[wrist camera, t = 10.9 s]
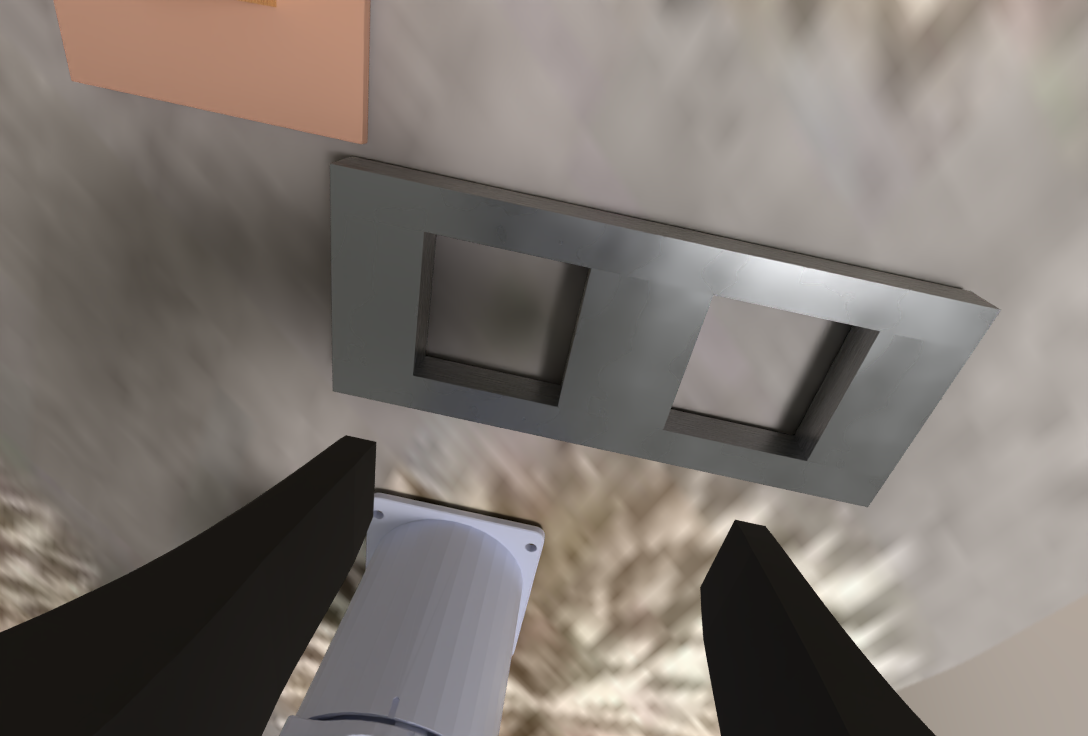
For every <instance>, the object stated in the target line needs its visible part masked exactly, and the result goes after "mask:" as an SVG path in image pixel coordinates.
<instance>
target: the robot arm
mask: <svg viewBox="0 0 1088 736" xmlns="http://www.w3.org/2000/svg"><path fill="white" fill-rule="evenodd" d="M375 462H376V442H374V441H370V440H365V439H360V438H356V437H351V436H347V435H346V436H344V437H342V438H341V439H339V440H338V441H337V442H335V443H334V444H332V445H331V446H330V447H328V448H327V449H326V450H324V451H323V452H321V453H320V454H319V455H317V456H316V457H315V458H313V459H312V460H310V461H309V462H308V463H306V464H305V465H304V466H302V467H301V468H299V469H298V470H297V471H295V472H294V473H292V474H291V475H290V476H288V477H287V478H285V479H284V480H282V481H281V482H280V483H278V484H277V485H275V486H274V487H272V488H271V489H269V490H268V491H266V492H265V493H263V494H262V495H260V496H259V497H258V498H256V499H255V500H253V501H252V502H250V503H249V504H247V505H246V506H244V507H243V508H241V509H239V510H238V511H236V512H235V513H233V514H231V515H230V516H228V517H227V518H225V519H223V520H222V521H220V522H219V523H217V524H215V525H214V526H212V527H210V528H209V529H207V530H206V531H204V532H202V533H201V534H199V535H197V536H196V537H194V538H192V539H191V540H189V541H187V542H185V543H184V544H182V545H180V546H179V547H177V548H175V549H173V550H171V551H170V552H168V553H166V554H164V555H162V556H161V557H159V558H157V559H155V560H153V561H151V562H149V563H148V564H146V565H144V566H142V567H140V568H138V569H136V570H134V571H133V572H131V573H129V574H127V575H125V576H123V577H121V578H119V579H117V580H115V581H112V582H110V583H108V584H106V585H104V586H102V587H100V588H98V589H96V590H94V591H91V592H89V593H87V594H85V595H83V596H81V597H79V598H77V599H74V600H72V601H70V602H68V603H66V604H64V605H62V606H60V607H57V608H55V609H53V610H51V611H49V612H47V613H45V614H42V615H40V616H38V617H35V618H33V619H31V620H29V621H26V622H24V623H21V624H19V625H17V626H14V627H12V628H10V629H7V630H5V631H3V632H0V736H262V734H263V732H264V729H265V727H266V725H267V723H268V721H269V719H270V716H271V714H272V712H273V710H274V708H275V705H276V703H277V701H278V699H279V697H280V695H281V693H282V691H283V689H284V687H285V685H286V683H287V682H288V680H289V678H290V676H291V674H292V672H293V670H294V668H295V667H296V665H297V663H298V661H299V660H300V658H301V656H302V654H303V653H304V651H305V649H306V647H307V645H308V644H309V642H310V640H311V638H312V637H313V635H314V633H315V631H316V630H317V628H318V626H319V624H320V623H321V621H322V619H323V617H324V616H325V614H326V612H327V610H328V608H329V607H330V605H331V603H332V601H333V600H334V598H335V596H336V594H337V593H338V591H339V589H340V587H341V585H342V584H343V582H344V580H345V578H346V576H347V575H348V573H349V571H350V569H351V567H352V566H353V564H354V561H355V559H356V557H357V554H358V552H359V550H360V548H361V545H362V543H363V541H364V538H365V536H366V533H367V543H366V571H365V573H364V575H363V577H362V579H361V581H360V583H359V585H358V587H357V589H356V591H355V593H354V596H353V598H352V600H351V602H350V604H349V606H348V608H347V610H346V612H345V614H344V616H343V618H342V620H341V623H340V625H339V627H338V629H337V631H336V633H335V635H334V637H333V639H332V641H331V643H330V645H329V647H328V650H327V652H326V654H325V656H324V658H323V660H322V662H321V664H320V666H319V668H318V670H317V672H316V675H315V677H314V679H313V681H312V683H311V685H310V687H309V689H308V691H307V693H306V695H305V697H304V699H303V702H302V704H301V706H300V708H299V710H298V712H297V714H296V716H294V715H291V716H289V717H288V718H287V720H286V722H285V724H284V726H283V728H282V731H281V733H280V735H279V736H499V730H500V724H501V718H502V712H503V705H504V699H505V693H506V687H507V681H508V675H509V669H510V663H511V656H512V655H513V654H514V651H515V647H516V643H517V640H518V636H519V632H520V629H521V625H522V621H523V618H524V614H525V610H526V607H527V603H528V599H529V595H530V592H531V588H532V584H533V581H534V577H535V573H536V570H537V566H538V562H539V559H540V555H541V551H542V547H543V544H544V538H545V533H544V531H543V530H542V529H541V528H539V527H536V526H532V525H528V524H523V523H518V522H514V521H509V520H505V519H500V518H495V517H491V516H486V515H481V514H477V513H472V512H468V511H463V510H458V509H454V508H449V507H444V506H440V505H435V504H431V503H426V502H421V501H417V500H412V499H408V498H403V497H398V496H394V495H389V494H384V493H374V487H375ZM377 510H379V511H381V512H382V513H381V512H379V511H377ZM530 544H534V545H530ZM700 590H701V612H702V627H703V640H704V645H705V651H706V657H707V663H708V668H709V674H710V679H711V685H712V690H713V695H714V701H715V706H716V711H717V717H718V722H719V727H720V733H721V736H935V735H934V733H933V732H932V731H931V730H930V729H929V728H928V727H927V726H926V725H925V724H924V723H923V722H922V721H921V720H920V718H919V717H918V716H917V715H916V714H915V713H914V712H913V711H912V710H911V709H910V708H909V706H908V705H907V704H906V703H905V702H904V701H903V700H902V699H901V697H900V696H899V695H898V694H897V693H896V692H895V691H894V690H893V688H892V687H891V686H890V685H889V684H888V682H887V681H886V680H885V679H884V678H883V676H882V675H881V674H880V673H879V672H878V671H877V669H876V668H875V667H874V666H873V665H872V663H871V662H870V661H869V660H868V659H867V658H866V656H865V655H864V654H863V653H862V651H861V650H860V649H859V648H858V647H857V645H856V644H855V643H854V642H853V640H852V639H851V638H850V637H849V635H848V634H847V633H846V632H845V630H844V629H843V628H842V627H841V625H840V624H839V623H838V621H837V620H836V619H835V618H834V616H833V615H832V614H831V612H830V611H829V610H828V608H827V607H826V606H825V605H824V603H823V602H822V601H821V599H820V598H819V597H818V595H817V594H816V593H815V591H814V590H813V589H812V587H811V586H810V585H809V583H808V582H807V581H806V579H805V578H804V577H803V575H802V574H801V573H800V571H799V570H798V569H797V567H796V566H795V565H794V563H793V562H792V560H791V559H790V558H789V556H788V555H787V554H786V552H785V551H784V550H783V548H782V547H781V546H780V544H779V543H778V542H777V540H776V539H775V538H774V537H773V535H772V534H771V533H770V531H769V530H768V529H767V528H766V526H762V525H757V524H753V523H748V522H743V521H739V520H735V521H734V523H733V525H732V527H731V528H730V530H729V532H728V534H727V536H726V538H725V540H724V542H723V544H722V546H721V548H720V550H719V552H718V554H717V556H716V558H715V560H714V562H713V564H712V566H711V567H710V569H709V571H708V573H707V575H706V577H705V579H704V581H703V583H702V585H701V587H700Z"/></svg>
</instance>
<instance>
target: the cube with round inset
mask: <svg viewBox="0 0 1088 736" xmlns="http://www.w3.org/2000/svg"><path fill="white" fill-rule="evenodd" d="M238 1H244V2H249V3H255V4H260V5H266V6H272V7H277V5H276V0H238Z"/></svg>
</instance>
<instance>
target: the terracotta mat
mask: <svg viewBox="0 0 1088 736" xmlns="http://www.w3.org/2000/svg"><path fill="white" fill-rule="evenodd" d="M54 5H55V9H56V14H57V18H58V22H59V27H60V31H61V36H62V40H63V45H64V49H65V53H66V58H67V62H68V67H69V71H70V76H71V80H72V81H75V82H79V83H84V84H88V85H93V86H98V87H102V88H107V89H111V90H116V91H120V92H125V93H130V94H134V95H139V96H143V97H148V98H152V99H157V100H162V101H166V102H171V103H175V104H180V105H185V106H189V107H194V108H198V109H203V110H207V111H212V112H217V113H221V114H226V115H230V116H235V117H239V118H244V119H249V120H253V121H258V122H262V123H267V124H271V125H276V126H281V127H285V128H290V129H294V130H299V131H304V132H308V133H313V134H317V135H322V136H326V137H331V138H336V139H340V140H345V141H349V142H354V143H358V144H365V143H367V134H368V87H369V39H370V0H276V5H277V7H272V6H266V5H260V4H255V3H249V2H244V1H238V0H54Z"/></svg>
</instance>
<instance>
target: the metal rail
mask: <svg viewBox="0 0 1088 736" xmlns="http://www.w3.org/2000/svg"><path fill="white" fill-rule="evenodd" d="M330 203H331V288H332V373H333V391H335V392H339V393H344V394H348V395H353V396H358V397H362V398H367V399H371V400H376V401H381V402H385V403H390V404H394V405H399V406H404V407H408V408H413V409H417V410H422V411H427V412H431V413H436V414H441V415H445V416H450V417H454V418H459V419H464V420H468V421H473V422H477V423H482V424H487V425H491V426H496V427H500V428H505V429H510V430H514V431H519V432H523V433H528V434H533V435H537V436H542V437H547V438H551V439H556V440H560V441H565V442H570V443H574V444H579V445H583V446H588V447H593V448H597V449H602V450H606V451H611V452H616V453H620V454H625V455H630V456H634V457H639V458H643V459H648V460H653V461H657V462H662V463H666V464H671V465H676V466H680V467H685V468H689V469H694V470H699V471H703V472H708V473H712V474H717V475H722V476H726V477H731V478H736V479H740V480H745V481H749V482H754V483H759V484H763V485H768V486H772V487H777V488H782V489H786V490H791V491H795V492H800V493H805V494H809V495H814V496H818V497H823V498H828V499H832V500H837V501H842V502H846V503H851V504H855V505H860V506H865V507H868V506H869V505H870V503H871V502H872V500H873V499H874V497H875V496H876V494H877V493H878V491H879V490H880V488H881V487H882V486H883V484H884V483H885V481H886V480H887V478H888V477H889V475H890V474H891V472H892V471H893V469H894V468H895V466H896V465H897V463H898V462H899V460H900V459H901V457H902V456H903V454H904V453H905V451H906V450H907V449H908V447H909V446H910V444H911V443H912V441H913V440H914V438H915V437H916V435H917V434H918V432H919V431H920V429H921V428H922V426H923V425H924V423H925V422H926V420H927V419H928V417H929V416H930V414H931V413H932V412H933V410H934V409H935V407H936V406H937V404H938V403H939V401H940V400H941V398H942V397H943V395H944V394H945V392H946V391H947V389H948V388H949V386H950V385H951V383H952V382H953V380H954V379H955V377H956V376H957V375H958V373H959V372H960V370H961V369H962V367H963V366H964V364H965V363H966V361H967V360H968V358H969V357H970V355H971V354H972V352H973V351H974V349H975V348H976V346H977V345H978V343H979V342H980V340H981V339H982V338H983V336H984V335H985V333H986V332H987V330H988V329H989V327H990V326H991V324H992V323H993V321H994V320H995V318H996V317H997V315H998V314H999V312H1000V311H1001V310H1000V309H999V308H997V307H995V306H994V305H992V304H990V303H989V302H987V301H986V300H984V299H982V298H981V297H979V296H978V295H976V294H974V293H973V292H971V291H967V290H962V289H958V288H953V287H948V286H944V285H939V284H935V283H930V282H926V281H921V280H916V279H912V278H907V277H903V276H898V275H894V274H889V273H884V272H880V271H875V270H871V269H866V268H861V267H857V266H852V265H848V264H843V263H839V262H834V261H829V260H825V259H820V258H816V257H811V256H807V255H802V254H797V253H793V252H788V251H784V250H779V249H774V248H770V247H765V246H761V245H756V244H752V243H747V242H742V241H738V240H733V239H729V238H724V237H720V236H715V235H710V234H706V233H701V232H697V231H692V230H687V229H683V228H678V227H674V226H669V225H665V224H660V223H655V222H651V221H646V220H642V219H637V218H633V217H628V216H623V215H619V214H614V213H610V212H605V211H600V210H596V209H591V208H587V207H582V206H578V205H573V204H568V203H564V202H559V201H555V200H550V199H546V198H541V197H536V196H532V195H527V194H523V193H518V192H514V191H509V190H504V189H500V188H495V187H491V186H486V185H481V184H477V183H472V182H468V181H463V180H459V179H454V178H449V177H445V176H440V175H436V174H431V173H427V172H422V171H417V170H413V169H408V168H404V167H399V166H394V165H390V164H385V163H381V162H376V161H372V160H367V159H362V158H358V157H353V156H350V157H347V158H345V159H342V160H339V161H336V162H333V163H330ZM436 234H437V235H441V236H446V237H450V238H455V239H460V240H464V241H469V242H473V243H478V244H483V245H487V246H492V247H496V248H501V249H505V250H510V251H515V252H519V253H524V254H528V255H533V256H538V257H542V258H547V259H551V260H556V261H560V262H565V263H570V264H574V265H579V266H583V267H588V268H589V270H588V274H587V279H586V283H585V287H584V291H583V295H582V299H581V303H580V308H579V312H578V316H577V320H576V324H575V328H574V332H573V336H572V341H571V345H570V349H569V353H568V357H567V361H566V365H565V370H564V374H563V378H562V382H561V385H558V384H553V383H548V382H544V381H539V380H535V379H530V378H525V377H521V376H516V375H512V374H507V373H502V372H498V371H493V370H488V369H484V368H479V367H475V366H470V365H465V364H461V363H456V362H452V361H447V360H442V359H438V358H433V357H429V356H426V345H427V334H428V323H429V311H430V300H431V289H432V278H433V266H434V255H435V244H436ZM713 295H716V296H721V297H726V298H730V299H735V300H739V301H744V302H749V303H753V304H758V305H762V306H767V307H771V308H776V309H781V310H785V311H790V312H794V313H799V314H804V315H808V316H813V317H817V318H822V319H826V320H831V321H836V322H840V323H845V324H849V325H853V326H852V328H851V330H850V332H849V334H848V335H847V337H846V339H845V341H844V343H843V345H842V347H841V349H840V351H839V352H838V354H837V356H836V358H835V360H834V362H833V364H832V366H831V367H830V369H829V371H828V373H827V375H826V377H825V379H824V381H823V382H822V384H821V386H820V388H819V390H818V392H817V394H816V396H815V398H814V399H813V401H812V403H811V405H810V407H809V409H808V411H807V413H806V414H805V416H804V418H803V420H802V422H801V424H800V426H799V428H798V429H797V431H796V433H795V435H794V436H792V435H788V434H783V433H778V432H774V431H769V430H765V429H760V428H755V427H751V426H746V425H742V424H737V423H732V422H728V421H723V420H719V419H714V418H709V417H705V416H700V415H696V414H691V413H686V412H682V411H677V410H673V409H671V407H672V404H673V402H674V399H675V396H676V394H677V391H678V388H679V386H680V383H681V380H682V378H683V375H684V372H685V370H686V367H687V364H688V362H689V359H690V356H691V354H692V351H693V348H694V346H695V343H696V340H697V338H698V335H699V332H700V330H701V327H702V324H703V322H704V319H705V316H706V314H707V311H708V308H709V305H710V303H711V300H712V297H713Z"/></svg>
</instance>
